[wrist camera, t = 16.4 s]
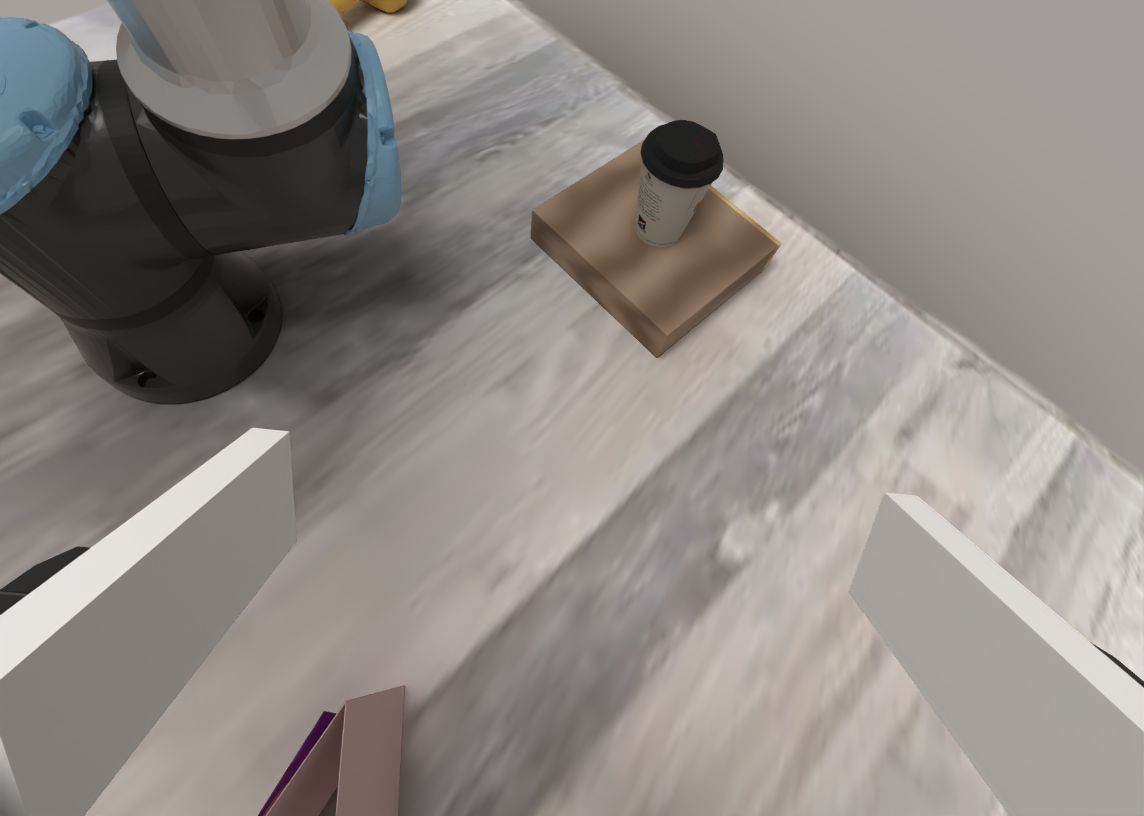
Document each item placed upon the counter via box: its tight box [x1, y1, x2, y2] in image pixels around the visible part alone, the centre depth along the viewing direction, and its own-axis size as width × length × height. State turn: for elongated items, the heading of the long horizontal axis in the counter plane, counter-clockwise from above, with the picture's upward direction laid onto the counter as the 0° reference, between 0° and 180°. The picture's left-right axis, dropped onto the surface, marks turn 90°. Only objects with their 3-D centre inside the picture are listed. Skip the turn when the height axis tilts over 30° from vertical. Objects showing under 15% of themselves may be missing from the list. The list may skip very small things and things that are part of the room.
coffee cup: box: [634, 120, 723, 248], centre depth 49 cm, size 7×7×10 cm
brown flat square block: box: [531, 140, 781, 358], centre depth 55 cm, size 18×17×4 cm
